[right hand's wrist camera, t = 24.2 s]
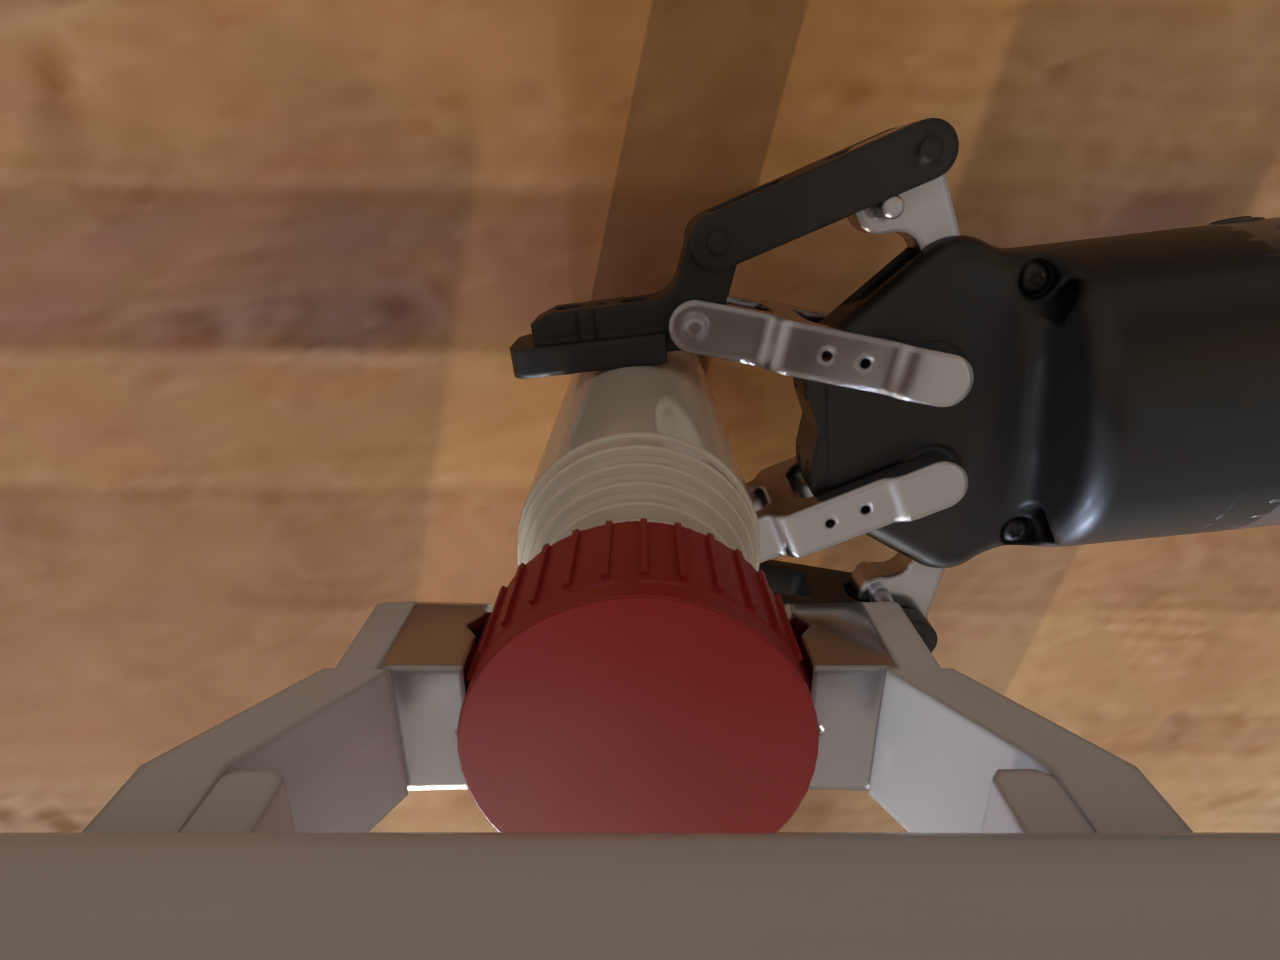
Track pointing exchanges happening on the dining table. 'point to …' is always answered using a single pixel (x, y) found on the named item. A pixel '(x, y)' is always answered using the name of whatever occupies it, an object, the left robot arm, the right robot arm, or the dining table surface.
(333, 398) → the dining table surface
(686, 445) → the bottle
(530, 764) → the cap
